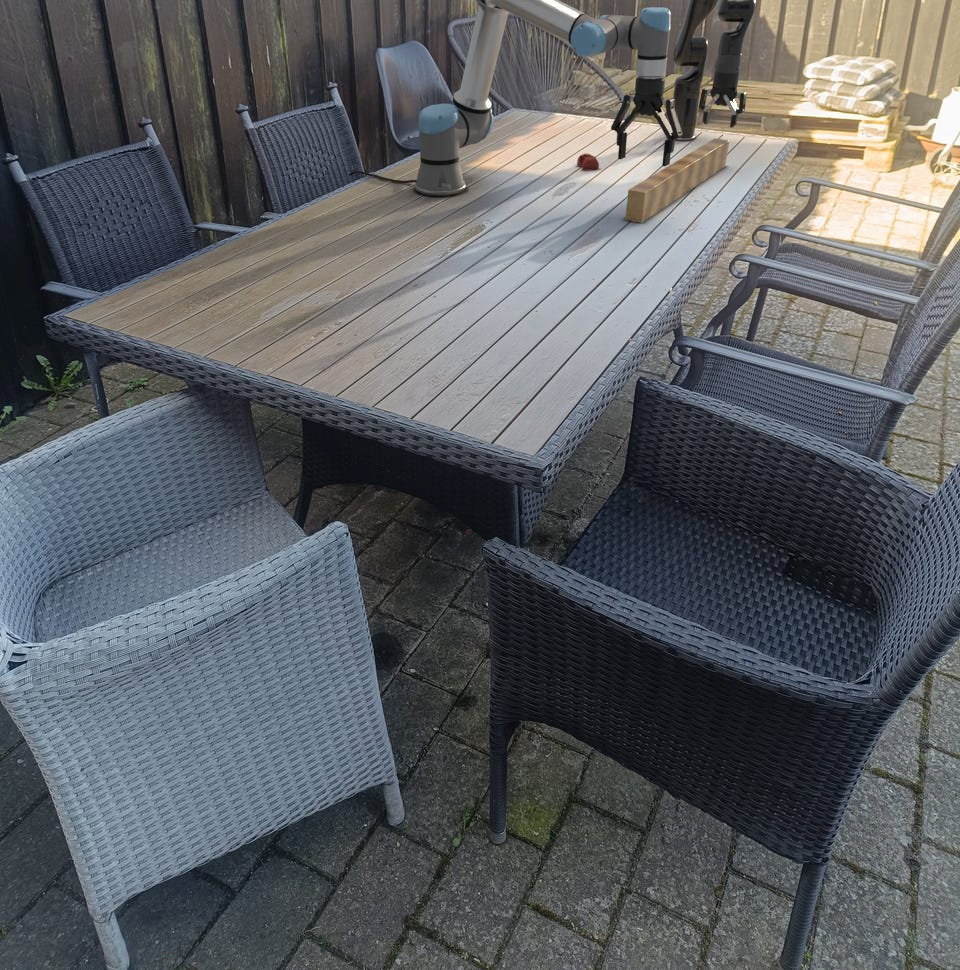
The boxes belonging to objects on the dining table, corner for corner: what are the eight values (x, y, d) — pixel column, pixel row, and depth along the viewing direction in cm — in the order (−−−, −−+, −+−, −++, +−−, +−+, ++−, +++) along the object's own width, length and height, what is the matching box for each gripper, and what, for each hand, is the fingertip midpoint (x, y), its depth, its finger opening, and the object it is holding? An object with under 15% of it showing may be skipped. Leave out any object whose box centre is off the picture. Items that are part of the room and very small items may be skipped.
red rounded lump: (591, 150, 280) (600, 156, 273) (591, 163, 282) (599, 169, 276) (576, 151, 279) (584, 158, 272) (575, 164, 281) (583, 171, 275)
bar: (641, 223, 233) (645, 192, 228) (625, 219, 235) (628, 189, 231) (725, 166, 280) (729, 140, 275) (710, 164, 282) (714, 138, 277)
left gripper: (701, 78, 213) (691, 165, 226) (616, 70, 226) (610, 152, 238) (688, 82, 209) (678, 171, 221) (601, 74, 222) (597, 158, 234)
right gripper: (754, 70, 259) (744, 126, 268) (709, 65, 265) (701, 120, 275) (746, 73, 254) (736, 130, 263) (701, 69, 260) (693, 125, 270)
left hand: (643, 161), depth 230 cm, fingers open, 13 cm apart
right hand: (718, 125), depth 269 cm, fingers open, 8 cm apart
